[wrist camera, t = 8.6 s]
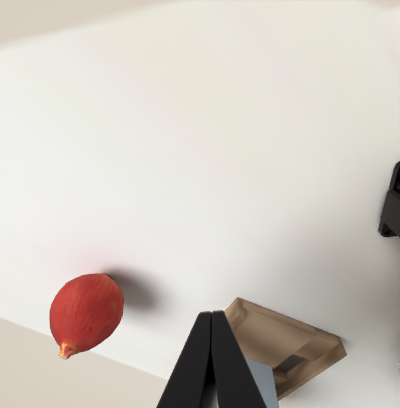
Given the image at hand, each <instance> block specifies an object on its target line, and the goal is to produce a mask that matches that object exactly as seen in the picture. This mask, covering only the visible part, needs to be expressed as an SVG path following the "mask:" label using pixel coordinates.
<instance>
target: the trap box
mask: <svg viewBox="0 0 400 408" xmlns="http://www.w3.org/2000/svg"><path fill="white" fill-rule="evenodd" d="M225 315H226V317H227V319H228V321H229V323H230V326H231V328H232V330H233V332H234V335H235V337H236V339H237V341H238V344H239V346H240V348H241V350H242V352H243V355H244V357H245V358H247V359H250V360H253V361H256V362H259V363H262V364H265V365H268V366H271V367H272V373H273V378H274V383H275V389H276V394H277V400H278V401H279V400H280V399H282V398H283V397H285V396H286V395H288V394H289V393H291V392H292V391H294V390H295V389H297V388H298V387H300V386H301V385H303V384H304V383H306V382H307V381H309V380H310V379H312V378H314V377H315V376H317V375H318V374H320V373H321V372H323V371H324V370H326V369H327V368H329V367H330V366H332V365H333V364H335V363H336V362H338V361H339V360H341V359H342V358H344V357H345V356H347V354H346V351H345V349H344V347H343V345H342V342H341V340H340V338H339V337H338V336H335V335H333V334H330V333H328V332H325V331H323V330H320V329H317V328H315V327H312V326H310V325H307V324H305V323H302V322H299V321H297V320H294V319H292V318H289V317H287V316H284V315H282V314H279V313H276V312H274V311H271V310H269V309H266V308H264V307H261V306H259V305H256V304H253V303H251V302H248V301H246V300H243V299H241V298H238V297H237V298H236V300H235V301H234V302H233V303H232V304H231V305H230V306H229V307H228V309H227V310H226V311H225Z"/></svg>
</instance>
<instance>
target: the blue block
mask: <svg viewBox="0 0 400 408" xmlns="http://www.w3.org/2000/svg"><path fill="white" fill-rule="evenodd" d="M245 359H246V361H247V364H248V366H249V368H250V370H251V373H252V375H253V377H254V379H255V382H256V384H257V386H258V388H259V390H260V393H261V395H262V397H263V399H264V402H265V404H266V406H267V408H279V405H278V400H277V394H276V389H275V383H274V378H273V373H272V367H271V366H268V365H265V364H262V363H259V362H256V361H253V360H250V359H247V358H245ZM217 408H219V407H218V405H217Z"/></svg>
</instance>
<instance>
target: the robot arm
mask: <svg viewBox="0 0 400 408" xmlns="http://www.w3.org/2000/svg"><path fill="white" fill-rule="evenodd" d="M386 230H387V231H386ZM378 232H379V233H380V234H381V235H382V236H383V237H393V236H399V237H400V161H399V162H398V163H397V164H396V165H395V168H394V172H393V175H392V179H391V183H390V187H389V190H388V192H387V195H386V199H385V203H384V207H383V211H382V215H381V222H380V226H379V229H378ZM217 405H218V407H219V408H267V406H266V404H265V402H264V399H263V397H262V395H261V393H260V390H259V388H258V386H257V384H256V382H255V379H254V377H253V375H252V373H251V370H250V368H249V366H248V364H247V361H246V359H245V357H244V355H243V352H242V350H241V348H240V346H239V344H238V341H237V339H236V337H235V335H234V332H233V330H232V328H231V326H230V323H229V321H228V319H227V317H226V315H225V312H224V311H223V310H219V311H213V312H212V313H211V312H210V311H207V312H200V313H199V314H198V317H197V319H196V321H195V323H194V325H193V328H192V330H191V332H190V334H189V336H188V339H187V341H186V343H185V345H184V348H183V350H182V352H181V354H180V356H179V359H178V361H177V363H176V365H175V367H174V370H173V372H172V374H171V376H170V379H169V381H168V383H167V385H166V387H165V390H164V392H163V394H162V396H161V399H160V401H159V403H158V405H157V407H156V408H217Z"/></svg>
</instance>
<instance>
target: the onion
mask: <svg viewBox="0 0 400 408" xmlns="http://www.w3.org/2000/svg"><path fill="white" fill-rule="evenodd" d="M123 304H124V299H123V295H122V292H121V290H120V288H119V286H118V285H117V284H116V283H115V282H114V281H113V280H112V279H110V278H109V276H108V275H106V274H87V275H82V276H80V277H77V278H75V279H73V280H71V281H69V282H67V283H66V284H65V285H64V286H63V287H62V288H61V289H60V291H59V292H58V293H57V295H56V296H55V298H54V300H53V302H52V304H51V308H50V329H51V332H52V335H53V337H54V339H55V340H56V342H57V344H58V345H59V346H60V352H59V355H58V356H59V357H60V358H63V359H68V358H69V357H70V356H71V355H74V354H77V353H79V352H84V351H87V350H90V349H91V348H93V347H95V346H97V345H98V344H100V343H101V342H103V341H104V340H105V339H107V338H108V337H109V336H110V335H111V334H112V333H113V332H114V330H115V329H116V328H117V326H118V325H119V323H120V321H121V318H122V316H123Z"/></svg>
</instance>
